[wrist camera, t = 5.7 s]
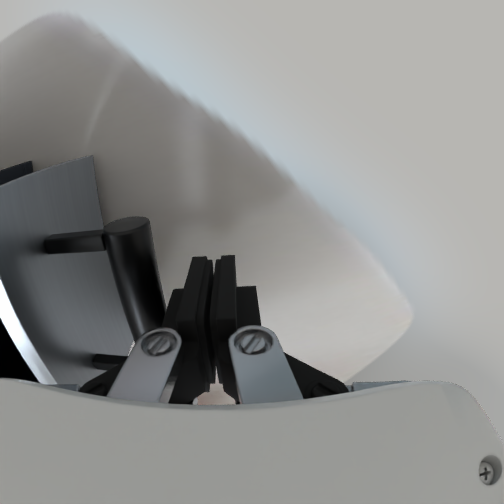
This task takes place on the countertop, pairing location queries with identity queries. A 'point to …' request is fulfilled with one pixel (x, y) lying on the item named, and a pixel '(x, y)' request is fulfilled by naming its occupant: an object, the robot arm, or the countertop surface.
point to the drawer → (71, 278)
